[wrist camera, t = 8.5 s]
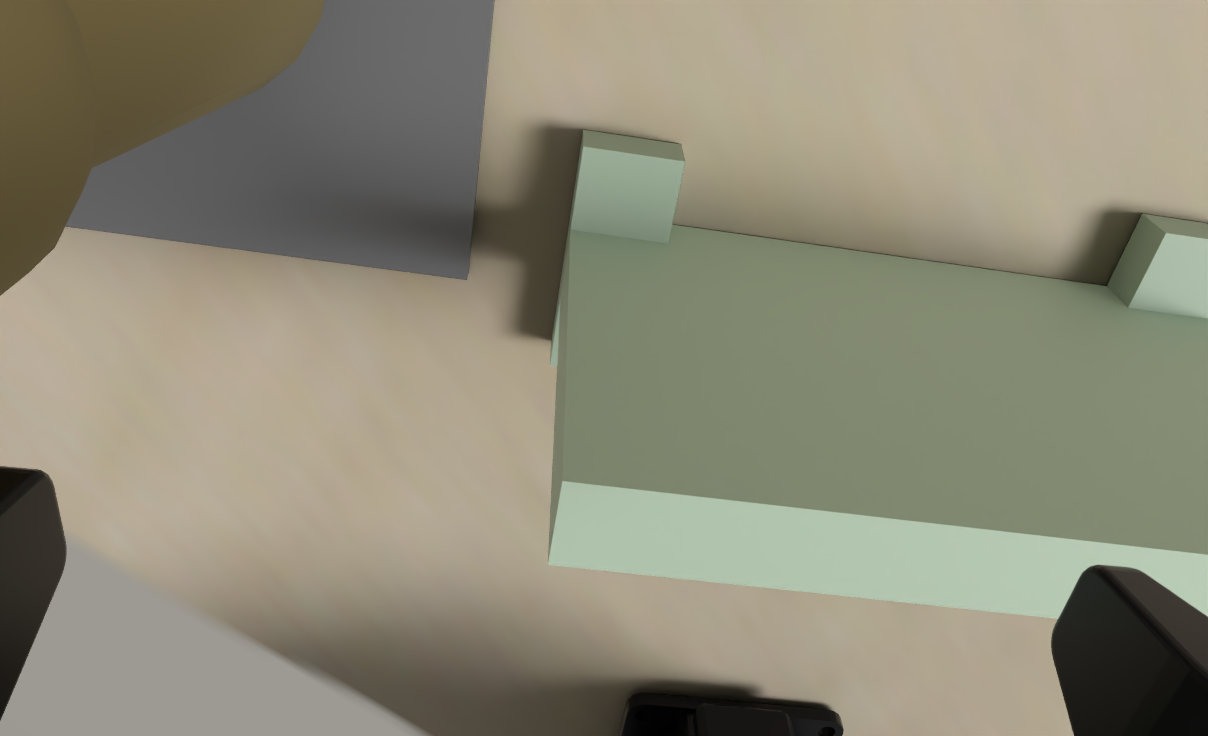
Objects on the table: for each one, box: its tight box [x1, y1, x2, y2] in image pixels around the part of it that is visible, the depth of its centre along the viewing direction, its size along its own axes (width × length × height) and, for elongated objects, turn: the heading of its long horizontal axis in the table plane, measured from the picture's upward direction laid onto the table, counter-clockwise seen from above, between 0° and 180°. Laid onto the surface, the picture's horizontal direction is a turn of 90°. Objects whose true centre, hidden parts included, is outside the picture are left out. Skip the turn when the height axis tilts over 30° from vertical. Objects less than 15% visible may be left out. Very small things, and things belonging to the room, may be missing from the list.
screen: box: [548, 130, 1208, 619], centre depth 18 cm, size 5×14×9 cm, turn 81°
